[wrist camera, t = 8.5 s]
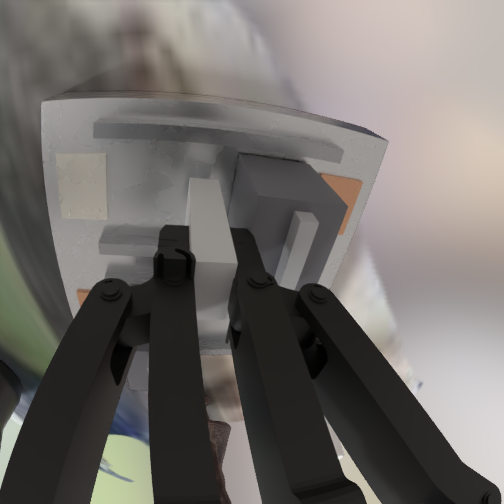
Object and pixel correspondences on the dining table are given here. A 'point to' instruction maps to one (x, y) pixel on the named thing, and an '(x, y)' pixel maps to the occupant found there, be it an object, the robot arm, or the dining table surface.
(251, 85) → the dining table surface
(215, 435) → the clay figurine
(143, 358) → the block
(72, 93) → the switch unit
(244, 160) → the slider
